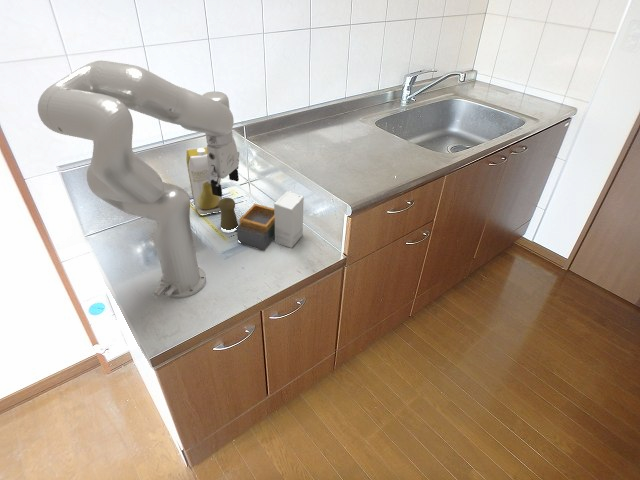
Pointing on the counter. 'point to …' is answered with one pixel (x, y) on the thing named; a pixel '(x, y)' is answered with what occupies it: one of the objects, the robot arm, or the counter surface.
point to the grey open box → (257, 227)
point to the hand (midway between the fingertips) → (226, 187)
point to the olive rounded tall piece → (228, 214)
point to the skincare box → (288, 219)
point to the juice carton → (201, 181)
